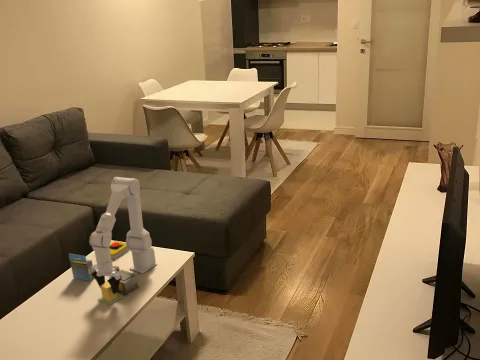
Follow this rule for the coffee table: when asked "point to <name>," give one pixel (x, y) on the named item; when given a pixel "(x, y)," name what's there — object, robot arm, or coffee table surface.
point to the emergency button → (117, 249)
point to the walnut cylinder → (116, 268)
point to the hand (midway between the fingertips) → (109, 289)
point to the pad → (111, 300)
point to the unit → (127, 282)
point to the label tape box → (81, 267)
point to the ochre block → (107, 292)
